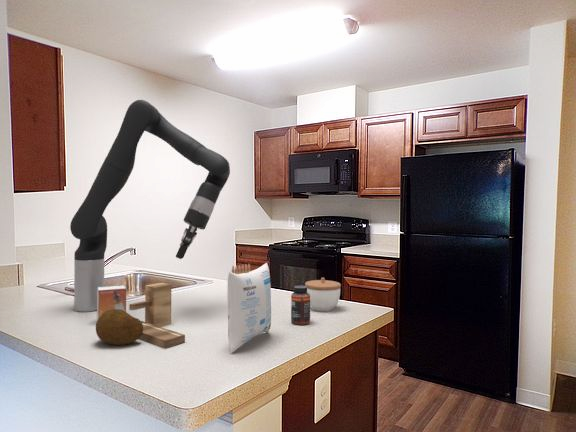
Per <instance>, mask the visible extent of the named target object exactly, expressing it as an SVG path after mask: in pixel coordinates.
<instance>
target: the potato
mask: <svg viewBox="0 0 576 432" xmlns="http://www.w3.org/2000/svg"><path fill="white" fill-rule="evenodd" d="M141 321H142V320H141V319H139V318H138V317H135V316H133V315H132V314H130V313H128V312H127V311H126V312H125V311H123V310H120V309H112V310H108V311H105V312H104V313H103V314H102V315H101V316H100V317H99V319H98V321H97V320H96V323H95V333H96V336H97V337H98V338H99V340H101V341H102V342H103V343H105V344H109V345H112V346H126V345H127V346H128V345H129V344H130V345H131V344H132V343H135V342H136V341H137V340H139V339H138V338H139V337H140V336H141V335H142V333H143V325H142V322H141Z"/></svg>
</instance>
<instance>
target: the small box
mask: <svg viewBox="0 0 576 432" xmlns="http://www.w3.org/2000/svg"><path fill="white" fill-rule="evenodd" d="M112 309H120V310H123V311H125V312H127V288H126V285H124V284H123V285H113V286H111V285H110V286H104V287H98V290H97V310H96V322H97V321H98V319H99V317H100V316H101V315H102V314H103V313H104V312H105V311H108V310H112Z"/></svg>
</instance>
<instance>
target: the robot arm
mask: <svg viewBox="0 0 576 432" xmlns="http://www.w3.org/2000/svg"><path fill="white" fill-rule="evenodd" d="M145 132H147V133H149V134H150V135H151V134H152V135H153V136H155V137H157V138H159V139H161V140H162V141H164V142H165V143H167V144H168V145H169V146H170V147H171V148H173V149H174V150H175V151H176V152H177V153H179V154H180V155H181V156H182V157H184V158H185V159H187V160H188V161H190V162H191V163H192V164H194V165H196V166H201V167H202V168H204V169H205V170H207V171H208V174H207V176H206V178H205V179H204V181H203V182H202V183H201V184H200V185H199V188H198V190H197V192H196V194H195V196H194V198H193V200H192V201H190V202H191V203H190V205H189V207H188V210H187V211H186V213H185V215H184V218H183V222H184V223H185V224H187V225H189V226H188V228H187V227H185V229H184V231H183V235H182V237H181V239H180V241H181V242H180V244H179V248H178V250H177V252H176V253H175V254H176V255H175V258H176V259H178V260H179V259H180V260H182V259H183V258H184V257H185V255H186V253H187V251H188V248H189V247H190V246H191V245H192V244H193V241H194V239H195V238H196V237H197V234H198V232H197V231H198V230H205V229H206V227H207V226H208V225H207V224H208V223H209V221H210V219H211V217H212V213H213V211H214V209H215V205H216V203H217V201H218V198H219V196H220V193H221V192H222V190H223V188H224V187H225V185H226V184H227V181H228V179H229V178H230V174H231V169H230V168H231V167H230V166H231V165H230V162H229V160H227V159H226V157H225V156H223V155H222V154H220V153H218V152H216V151H214V150H212V149H210V148H209V147H208V148H207V146H205V145H204V144H202V143H201V142H199V141H198V140H196V139H195V138H193V137H192V136H190V135H189V134H187V133H185V132H184V131H182V130H181V129H178V128H177V127H176V126H175V125H173V124H172V123H171V122H170V121H168V120H167V118H165V116H164V115H163V114H161V113H160V111H159V110H158V109H157V108H156V107H155V106H154V105H152V104H151V103H150V102H149V101H148V100H147V101H146V100H145V99H137V100H135V101H133V102H131V103H130V105H129V106H128V108H127V110H126V111H125V115H124V117H123V120H122V122H121V125H120V128H119V131H118V133H117V136H116V138H115V139H114V141H113V143H112V145H111V147H110V149H109V151H108V153H107V155H106V156H105V159H104V161H103V163H102V164H101V167H100V168H99V170H98V173H97V174H96V177H95V178H94V181H93V182H92V184H91V187H90V189H89V191H88V193H87V195H86V197H85V199H84V200H83V201H82V203H81V205H80V206H79V208H78V210H77V211H76V212H75V214H74V215H73V217H72V219H71V222H70V225H69V226H70V227H69V229H70V232H71V235H72V236H73V237H74V238H75V239H77V240H79V244H78V247H77V249H75V251H74V253H73V254H74V266H73V267H74V271H73V272H74V282H73V283H74V286H73V287H74V288H73V289H74V290H73V292H74V294H73V295H74V298H73V300H74V301H73V304H74V305H73V306H74V307H73V308H74V311H76V312H80V313H82V312H85V313H86V312H95V311H97V290H98V287H105V253H106V250H107V246H108V245H107V244H108V223H107V220H106V218H105V217H104V216H103V215H104V213H105V211H106V209H107V207H108V206H109V204H110V203H111V202H112V200H113V199H114V198H116V196H118V194H119V193H120V192H121V191H122V189H123V188H124V187H125V185H126V184H127V182H128V180H129V178H130V176H131V173H132V172H133V169H134V166H135V161H136V156H137V155H136V154H137V147H138V145H139V142H140V140H141V139H142V136H143V134H144V133H145Z"/></svg>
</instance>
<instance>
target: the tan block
mask: <svg viewBox="0 0 576 432" xmlns="http://www.w3.org/2000/svg"><path fill="white" fill-rule="evenodd" d="M144 288H145V290H144V291H145V292H144V296H145V297H144V301H138V302H134V303H129V305H128V306H129V311H135V310H140V309H144V311H145V312H144V322H146V323H150V324H153V325H156V326H159V327H164V326H169V325H171V324H172V283H171V284H170V283H167V282H166V283H165V282H158V283H151V284H147V285H145V287H144Z"/></svg>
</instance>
